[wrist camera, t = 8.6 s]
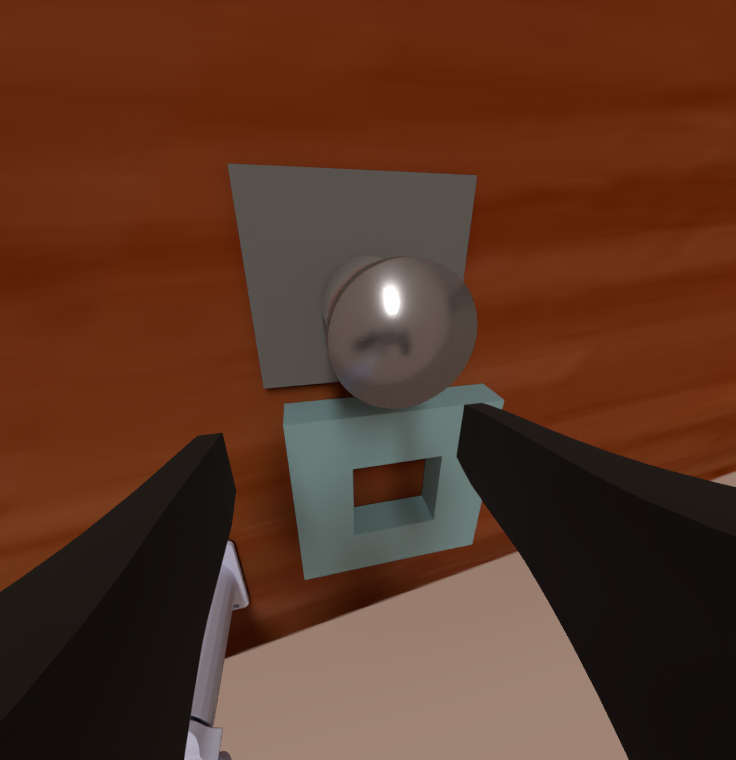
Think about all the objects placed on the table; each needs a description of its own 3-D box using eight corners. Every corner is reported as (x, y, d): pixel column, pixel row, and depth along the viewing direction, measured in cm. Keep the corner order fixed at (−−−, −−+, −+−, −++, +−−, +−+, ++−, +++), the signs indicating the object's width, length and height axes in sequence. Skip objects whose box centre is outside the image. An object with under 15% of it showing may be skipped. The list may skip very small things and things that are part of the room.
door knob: (319, 354, 18) (333, 417, 12) (310, 250, 15) (321, 260, 9) (410, 345, 19) (467, 399, 13) (414, 247, 16) (488, 254, 10)
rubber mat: (264, 384, 18) (263, 388, 18) (229, 166, 14) (227, 163, 13) (447, 368, 21) (451, 371, 20) (471, 177, 16) (477, 175, 16)
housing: (303, 549, 25) (304, 580, 23) (284, 403, 19) (283, 425, 17) (457, 519, 28) (471, 544, 26) (483, 383, 22) (504, 400, 20)
